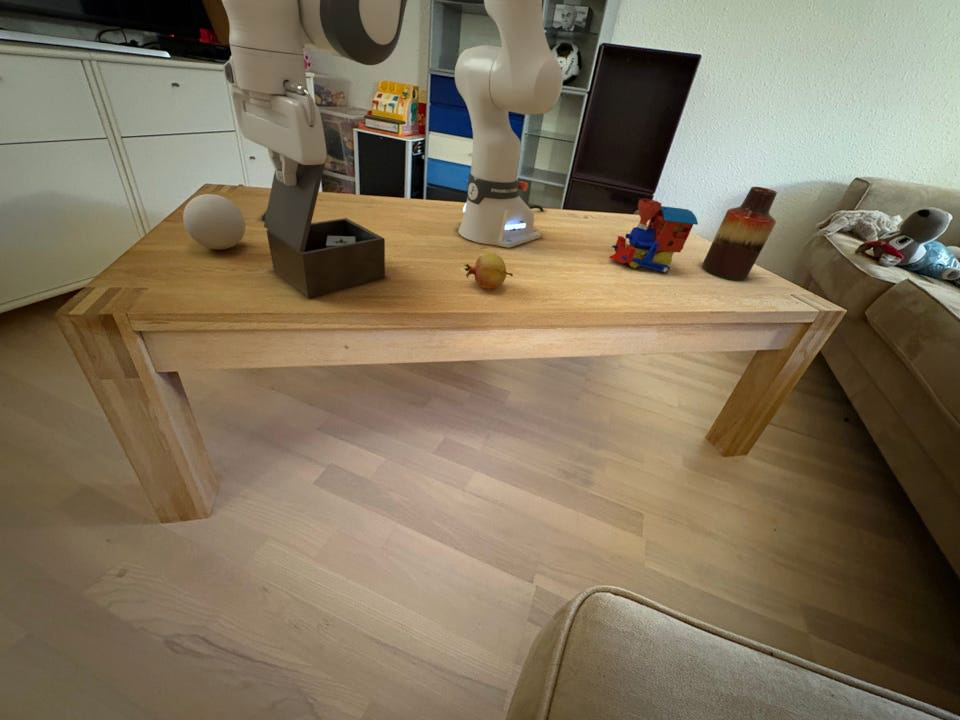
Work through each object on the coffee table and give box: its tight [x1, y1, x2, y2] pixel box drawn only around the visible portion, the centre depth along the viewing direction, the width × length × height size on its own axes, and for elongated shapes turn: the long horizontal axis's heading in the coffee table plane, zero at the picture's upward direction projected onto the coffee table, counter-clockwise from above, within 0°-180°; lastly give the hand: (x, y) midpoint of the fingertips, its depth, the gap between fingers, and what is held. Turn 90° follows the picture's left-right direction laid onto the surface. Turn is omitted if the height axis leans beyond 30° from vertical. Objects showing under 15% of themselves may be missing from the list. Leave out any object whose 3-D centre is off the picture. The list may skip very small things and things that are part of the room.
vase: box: [701, 186, 778, 282], centre depth 101 cm, size 11×11×20 cm
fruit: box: [463, 252, 514, 290], centre depth 80 cm, size 7×7×10 cm
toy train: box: [608, 198, 699, 274], centre depth 99 cm, size 10×16×15 cm, turn 93°
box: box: [266, 217, 386, 299], centre depth 76 cm, size 16×13×8 cm
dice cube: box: [326, 236, 355, 248], centre depth 78 cm, size 5×5×5 cm
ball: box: [182, 193, 246, 250], centre depth 79 cm, size 10×10×10 cm
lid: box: [263, 141, 331, 252], centre depth 65 cm, size 16×13×1 cm
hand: (287, 183), depth 64 cm, fingers closed, pressing on lid
